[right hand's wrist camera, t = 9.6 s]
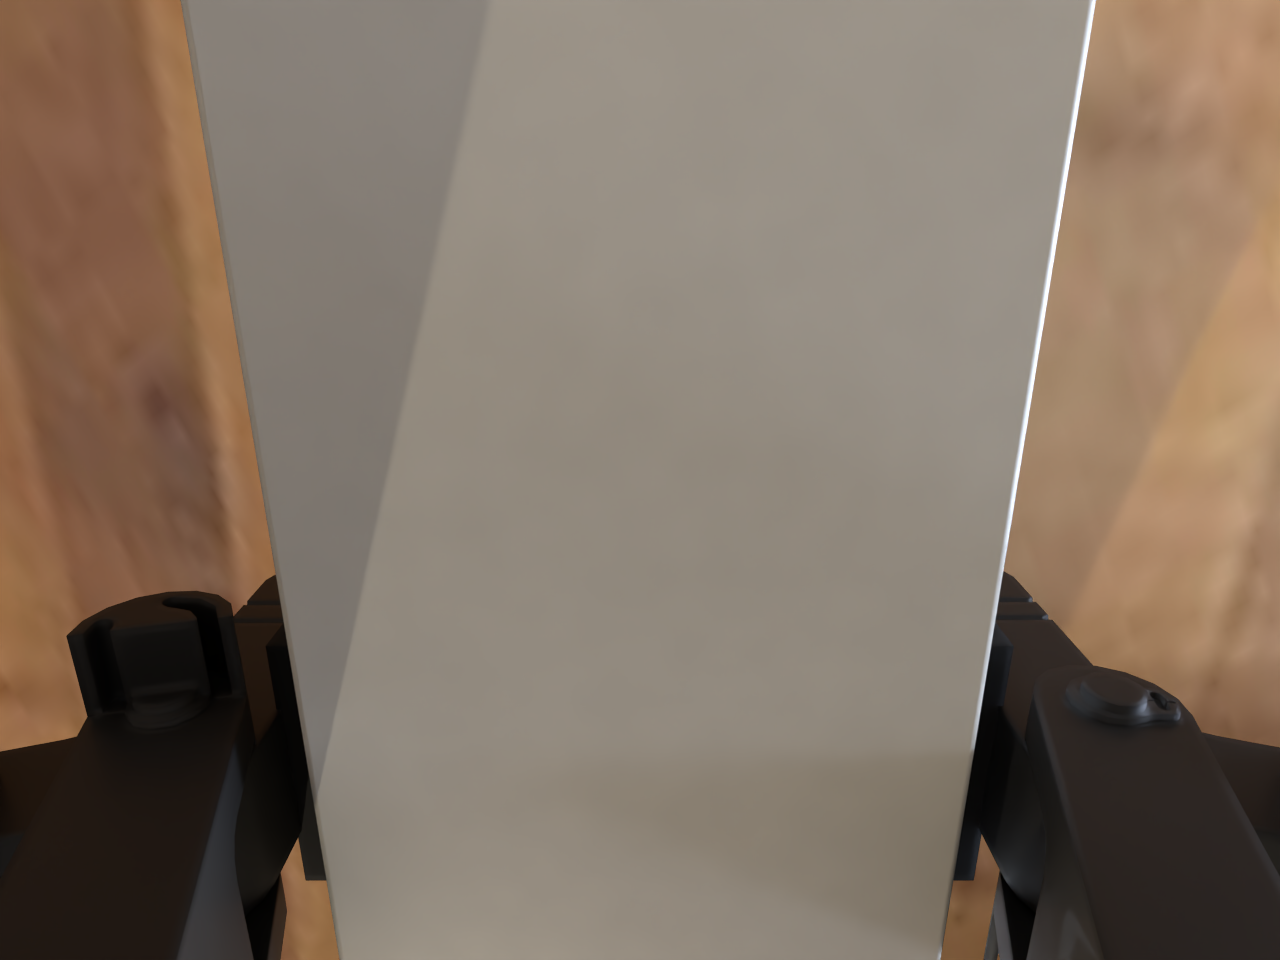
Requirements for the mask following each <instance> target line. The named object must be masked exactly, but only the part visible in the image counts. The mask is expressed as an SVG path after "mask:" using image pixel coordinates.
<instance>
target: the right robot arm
mask: <svg viewBox="0 0 1280 960" xmlns="http://www.w3.org/2000/svg"><path fill="white" fill-rule="evenodd" d="M67 640H68V644H69V648H70V651H71V655H72V659H73V663H74V667H75V670H76V674H77V678H78V682H79V686H80V690H81V693H82V697H83V701H84V705H85V709H86V712H87V716H88V717H87V719H86V721H85V723H84V724H83V726H82V728H81V730H80V732H79V734H78V736H77V737H73V738H69V739H65V740H60V741H55V742H49V743H44V744H39V745H33V746H28V747H23V748H17V749H12V750H7V751H1V752H0V960H280V959H281V951H282V944H283V937H284V929H285V922H286V914H287V908H286V901H285V894H284V889H283V883H282V878H281V870H282V868H283V866H284V864H285V862H286V860H287V858H288V856H289V854H290V852H291V850H292V848H293V846H294V844H295V842H296V840H297V838H299V844H300V850H301V855H302V861H303V867H304V873H305V879H306V880H326V874H325V868H324V862H323V856H322V850H321V844H320V838H319V832H318V826H317V819H316V813H315V807H314V801H313V795H312V789H311V783H310V777H309V771H308V765H307V759H306V753H305V747H304V741H303V735H302V729H301V723H300V717H299V711H298V705H297V699H296V693H295V687H294V681H293V675H292V669H291V663H290V657H289V651H288V645H287V638H286V632H285V626H284V620H283V614H282V608H281V602H280V596H279V590H278V584H277V578H276V575H274V576H272V577H271V578H269V579H267V580H266V581H265V582H264V583H263V584H262V585H261V586H260V587H259V589H258V590H257V591H256V592H255V593H254V594H253V595H252V596H251V598H250V599H249V600H248V601H247V605H243V607H242V608H241V609H240V610H239V611H238V612H237V613H236V614H235V616H234V617H233V612H232V607H231V603H229V602H228V601H226V600H225V599H223V598H222V597H220V596H219V595H216V594H210V593H205V592H199V591H179V592H165V593H160V594H154V595H149V596H143V597H138V598H135V599H132V600H129V601H126V602H123V603H120V604H117V605H114V606H111V607H108V608H106V609H104V610H102V611H100V612H98V613H97V614H95V615H93V616H91V617H89V618H87V619H85V620H83V621H82V622H81V623H80V624H79V625H78V626H77V627H75V628H74V629H73V630H72V631H71V632H70V633H69V634H68V635H67ZM981 834H982V835H983V837H984V839H985V841H986V843H987V845H988V847H989V849H990V851H991V853H992V855H993V857H994V859H995V861H996V863H997V865H998V867H999V869H1000V872H999V878H998V883H997V889H996V894H995V900H994V905H993V910H992V916H991V921H990V927H989V932H988V937H987V943H986V948H985V954H984V960H997V956H998V954H999V957H1000V960H1280V748H1279V747H1274V746H1268V745H1263V744H1257V743H1252V742H1247V741H1241V740H1236V739H1230V738H1225V737H1220V736H1215V735H1211V734H1206V733H1202V732H1201V730H1200V728H1199V727H1198V725H1197V723H1196V721H1195V719H1194V717H1193V716H1192V714H1191V713H1190V712H1189V711H1188V710H1187V709H1186V708H1185V707H1184V705H1183V704H1182V703H1181V702H1180V701H1179V700H1178V699H1177V698H1176V697H1174V696H1172V695H1171V694H1169V693H1168V692H1166V691H1165V690H1163V689H1161V688H1160V687H1158V686H1157V685H1155V684H1153V683H1151V682H1148V681H1146V680H1143V679H1141V678H1138V677H1136V676H1133V675H1131V674H1128V673H1126V672H1121V671H1116V670H1112V669H1107V668H1103V667H1098V666H1093V665H1092V664H1091V663H1090V662H1089V660H1088V659H1087V658H1086V657H1085V656H1084V655H1083V654H1082V653H1081V652H1080V650H1079V649H1078V648H1077V647H1076V646H1075V645H1074V644H1073V643H1072V642H1071V640H1070V639H1069V638H1068V637H1067V636H1066V635H1065V634H1064V633H1063V631H1062V630H1061V629H1060V628H1059V627H1058V626H1057V625H1056V624H1055V623H1054V621H1053V620H1048V615H1047V614H1046V613H1045V611H1044V610H1043V609H1042V608H1041V607H1040V606H1039V605H1038V604H1037V603H1036V602H1033V601H1032V597H1031V596H1030V595H1029V594H1028V592H1027V591H1026V590H1025V589H1024V588H1023V587H1022V586H1021V585H1020V584H1019V582H1018V581H1017V580H1016V579H1015V578H1014V577H1013V576H1011V575H1009V574H1007V573H1006V572H1004V571H1003V576H1002V582H1001V588H1000V594H999V601H998V607H997V613H996V619H995V625H994V631H993V638H992V644H991V650H990V656H989V662H988V669H987V675H986V681H985V687H984V693H983V699H982V706H981V712H980V718H979V724H978V730H977V736H976V743H975V749H974V755H973V761H972V767H971V773H970V780H969V786H968V792H967V798H966V804H965V810H964V817H963V823H962V829H961V835H960V841H959V848H958V854H957V860H956V866H955V872H954V878H953V880H974V875H975V869H976V863H977V857H978V852H979V846H980V840H981Z"/></svg>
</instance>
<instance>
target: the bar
mask: <svg viewBox="0 0 1280 960" xmlns="http://www.w3.org/2000/svg"><path fill="white" fill-rule="evenodd" d="M1095 2H1096V0H181V5H182V11H183V17H184V23H185V29H186V35H187V41H188V47H189V53H190V59H191V65H192V71H193V77H194V83H195V89H196V95H197V102H198V108H199V114H200V120H201V126H202V132H203V138H204V144H205V150H206V156H207V162H208V168H209V174H210V180H211V186H212V192H213V198H214V204H215V210H216V216H217V222H218V228H219V234H220V240H221V246H222V252H223V258H224V264H225V270H226V276H227V283H228V289H229V295H230V301H231V307H232V313H233V319H234V325H235V331H236V337H237V343H238V349H239V355H240V361H241V367H242V373H243V379H244V385H245V391H246V397H247V403H248V409H249V415H250V421H251V427H252V433H253V439H254V445H255V451H256V457H257V464H258V470H259V476H260V482H261V488H262V494H263V500H264V506H265V512H266V518H267V524H268V530H269V536H270V542H271V548H272V554H273V560H274V566H275V572H276V578H277V584H278V590H279V596H280V602H281V608H282V614H283V620H284V626H285V632H286V638H287V645H288V651H289V657H290V663H291V669H292V675H293V681H294V687H295V693H296V699H297V705H298V711H299V717H300V723H301V729H302V735H303V741H304V747H305V753H306V759H307V765H308V771H309V777H310V783H311V789H312V795H313V801H314V807H315V813H316V819H317V826H318V832H319V838H320V844H321V850H322V856H323V862H324V868H325V874H326V880H327V886H328V892H329V898H330V904H331V910H332V916H333V922H334V928H335V934H336V940H337V946H338V952H339V958H340V960H940V959H941V952H942V946H943V940H944V934H945V928H946V922H947V915H948V909H949V903H950V897H951V891H952V885H953V878H954V872H955V866H956V860H957V854H958V848H959V841H960V835H961V829H962V823H963V817H964V810H965V804H966V798H967V792H968V786H969V780H970V773H971V767H972V761H973V755H974V749H975V743H976V736H977V730H978V724H979V718H980V712H981V706H982V699H983V693H984V687H985V681H986V675H987V669H988V662H989V656H990V650H991V644H992V638H993V631H994V625H995V619H996V613H997V607H998V601H999V594H1000V588H1001V582H1002V576H1003V570H1004V564H1005V557H1006V551H1007V545H1008V539H1009V533H1010V527H1011V520H1012V514H1013V508H1014V502H1015V496H1016V490H1017V483H1018V477H1019V471H1020V465H1021V459H1022V453H1023V446H1024V440H1025V434H1026V428H1027V422H1028V415H1029V409H1030V403H1031V397H1032V391H1033V385H1034V378H1035V372H1036V366H1037V360H1038V354H1039V348H1040V341H1041V335H1042V329H1043V323H1044V317H1045V311H1046V304H1047V298H1048V292H1049V286H1050V280H1051V274H1052V267H1053V261H1054V255H1055V249H1056V243H1057V237H1058V230H1059V224H1060V218H1061V212H1062V206H1063V199H1064V193H1065V187H1066V181H1067V175H1068V169H1069V162H1070V156H1071V150H1072V144H1073V138H1074V132H1075V125H1076V119H1077V113H1078V107H1079V101H1080V95H1081V88H1082V82H1083V76H1084V70H1085V64H1086V58H1087V51H1088V45H1089V39H1090V33H1091V27H1092V21H1093V14H1094V8H1095Z"/></svg>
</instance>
